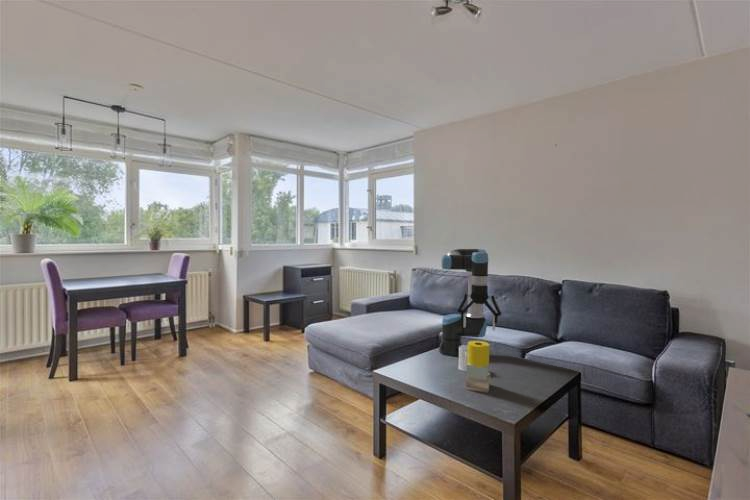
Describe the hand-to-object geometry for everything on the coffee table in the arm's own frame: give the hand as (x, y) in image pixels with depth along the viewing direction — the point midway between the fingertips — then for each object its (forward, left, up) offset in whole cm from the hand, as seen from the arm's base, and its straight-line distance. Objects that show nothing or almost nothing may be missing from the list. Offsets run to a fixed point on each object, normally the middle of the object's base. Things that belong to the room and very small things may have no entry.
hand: (478, 328), depth 178 cm
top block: (0, 0, -23) cm, 23 cm away
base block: (0, 0, -29) cm, 29 cm away
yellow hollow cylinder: (0, 0, -17) cm, 17 cm away
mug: (-20, -9, -29) cm, 36 cm away
